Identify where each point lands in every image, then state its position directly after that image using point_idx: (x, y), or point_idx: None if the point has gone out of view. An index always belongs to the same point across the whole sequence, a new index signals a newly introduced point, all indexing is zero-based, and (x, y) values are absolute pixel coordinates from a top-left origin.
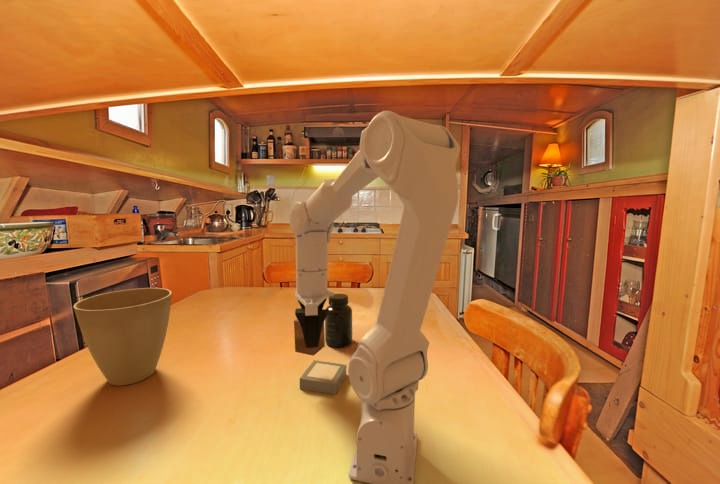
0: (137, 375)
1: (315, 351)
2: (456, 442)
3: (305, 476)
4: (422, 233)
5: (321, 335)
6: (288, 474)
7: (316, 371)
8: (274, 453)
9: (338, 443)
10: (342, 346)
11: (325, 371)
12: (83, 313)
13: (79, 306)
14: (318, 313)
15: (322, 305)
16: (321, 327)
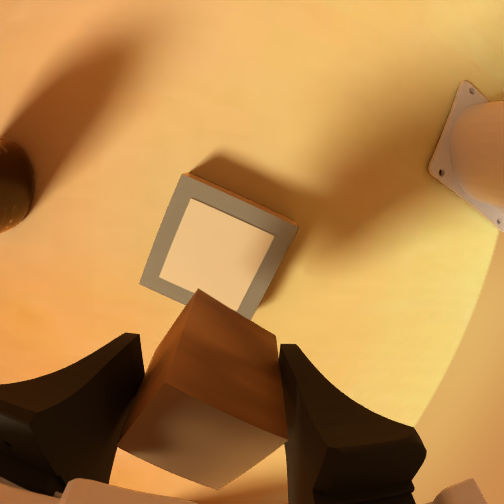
0: None
1: (262, 333)
2: (470, 26)
3: (478, 294)
4: None
5: (211, 334)
6: (466, 318)
7: (213, 281)
8: (427, 344)
9: (446, 236)
10: (32, 174)
11: (218, 252)
12: None
13: None
14: (408, 481)
15: (67, 407)
16: (347, 397)
